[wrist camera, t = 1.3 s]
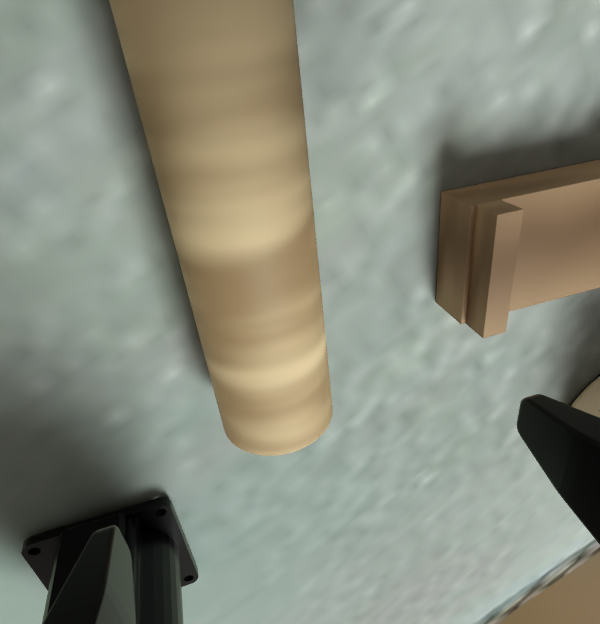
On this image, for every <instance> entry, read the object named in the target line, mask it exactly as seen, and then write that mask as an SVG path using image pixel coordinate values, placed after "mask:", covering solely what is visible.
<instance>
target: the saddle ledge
mask: <svg viewBox="0 0 600 624" xmlns="http://www.w3.org/2000/svg"><path fill="white" fill-rule="evenodd" d="M596 288H600V159H599V160H594V161H589V162H584V163H579V164H575V165H570V166H565V167H560V168H555V169H550V170H545V171H540V172H535V173H531V174H526V175H521V176H516V177H511V178H506V179H501V180H496V181H491V182H487V183H482V184H477V185H472V186H467V187H462V188H457V189H452V190H447V191H443V192H441V207H440V227H439V247H438V266H437V286H436V303H437V304H439V305H440V306H441V307H442V308H443V309H444V310H445V311H447V312H448V313H449V314H450V315H451V316H452V317H453V318H455V319H456V320H457V321H458V322H459V323H460V324H464V323H466V324H467V325H468V326H469V327H471V328H472V329H473V330H474V331H475V332H476V333H478V334H479V335H480V336H481V337H482V338H486V337H489V336H493V335H497V334H500V333H504V332H506V326H507V319H508V313H509V311H513V310H516V309H520V308H524V307H528V306H532V305H535V304H539V303H543V302H547V301H550V300H554V299H558V298H562V297H566V296H569V295H573V294H577V293H581V292H584V291H588V290H592V289H596Z"/></svg>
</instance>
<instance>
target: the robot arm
mask: <svg viewBox="0 0 600 624" xmlns="http://www.w3.org/2000/svg"><path fill="white" fill-rule="evenodd" d="M517 429H518V432H519V434H520V436H521V437H522V439H523V440H524V442H525V443H526V445H527V446H528V448H529V449H530V451H531V452H532V454H533V456H534V457H535V459H536V460H537V462H538V463H539V465H540V466H541V468H542V469H543V471H544V472H545V474H546V475H547V477H548V478H549V480H550V481H551V483H552V484H553V486H554V487H555V488H556V490H557V491H558V493H559V494H560V495H561V497H562V498H563V499H564V501H565V502H566V503H567V504H568V506H569V507H570V508H571V509H572V511H573V512H574V513H575V514H576V516H577V517H578V518H579V519H580V520H581V522H582V523H583V524H584V525H585V527H586V528H587V529H588V530H589V532H590V533H591V534H592V535H593V537H594V538H595V539H596V540H597V542H598V543H599V544H600V418H599V417H597V416H594V415H592V414H589V413H587V412H584V411H582V410H579V409H577V408H574V407H572V406H569V405H567V404H564V403H562V402H559V401H557V400H554V399H552V398H549V397H547V396H544V395H540V394H537V395H533V396H530V397H526V398H524V399H523V400H522V401H521V403H520V409H519V414H518V420H517ZM21 553H22V555H23V557H24V558H25V560H26V561H27V562H28V564H29V565H30V566H31V568H32V569H33V571H34V572H35V573H36V575H37V576H38V577H39V579H40V580H41V582H42V583H43V584H44V586H45V587H46V589H47V590H48V595H47V600H46V605H45V611H44V616H43V621H42V624H183V609H182V592H181V587H182V586H185V585H188V584H191V583H193V582H195V581H196V580H197V579H198V568H197V566H196V563H195V561H194V558H193V555H192V553H191V550H190V548H189V545H188V543H187V540H186V538H185V535H184V533H183V530H182V528H181V525H180V523H179V520H178V517H177V515H176V512H175V510H174V507H173V505H172V502H171V501H170V500H169V499H167V498H159V499H155V500H152V501H148V502H145V503H142V504H138V505H135V506H132V507H128V508H125V509H122V510H118V511H115V512H112V513H108V514H105V515H102V516H99V517H95V518H92V519H89V520H85V521H82V522H79V523H75V524H72V525H69V526H65V527H62V528H59V529H55V530H52V531H49V532H45V533H42V534H39V535H36V536H32V537H30V538H28V539H26V540H25V542H24V544H23V548H22V552H21Z"/></svg>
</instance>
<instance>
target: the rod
mask: <svg viewBox="0 0 600 624" xmlns="http://www.w3.org/2000/svg"><path fill="white" fill-rule="evenodd" d="M109 2H110V5H111V9H112V13H113V17H114V20H115V24H116V28H117V31H118V35H119V39H120V43H121V46H122V50H123V54H124V58H125V61H126V65H127V69H128V72H129V76H130V80H131V84H132V87H133V91H134V95H135V99H136V102H137V106H138V110H139V113H140V117H141V121H142V125H143V128H144V132H145V136H146V140H147V143H148V147H149V151H150V154H151V158H152V162H153V166H154V169H155V173H156V177H157V181H158V184H159V188H160V192H161V195H162V199H163V203H164V207H165V210H166V214H167V218H168V222H169V225H170V229H171V233H172V236H173V240H174V244H175V248H176V251H177V255H178V259H179V263H180V266H181V270H182V274H183V277H184V281H185V285H186V289H187V292H188V296H189V300H190V304H191V307H192V311H193V315H194V318H195V322H196V326H197V330H198V333H199V337H200V341H201V345H202V348H203V352H204V356H205V359H206V363H207V367H208V371H209V374H210V378H211V382H212V385H213V389H214V393H215V397H216V400H217V404H218V408H219V412H220V415H221V419H222V423H223V426H224V430H225V433H226V435H227V437H228V438H229V439H230V441H231V442H232V443H233V444H234V445H236V446H237V447H239V448H240V449H242V450H244V451H246V452H249V453H253V454H257V455H266V456H273V455H283V454H287V453H291V452H294V451H297V450H300V449H302V448H304V447H306V446H308V445H309V444H311V443H313V442H314V441H315V440H317V439H318V438H319V437H320V436H321V435H322V434H323V433H324V431H325V430H326V429H327V427H328V425H329V423H330V421H331V418H332V398H331V388H330V378H329V367H328V357H327V347H326V336H325V326H324V316H323V305H322V295H321V285H320V274H319V264H318V254H317V243H316V233H315V223H314V212H313V202H312V191H311V181H310V171H309V160H308V150H307V140H306V129H305V119H304V109H303V98H302V88H301V78H300V67H299V57H298V47H297V36H296V26H295V16H294V5H293V0H109Z"/></svg>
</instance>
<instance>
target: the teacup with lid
mask: <svg viewBox="0 0 600 624" xmlns="http://www.w3.org/2000/svg"><path fill="white" fill-rule="evenodd" d="M571 406H572V407H574V408H577V409H579V410H582V411H584V412H587V413H589V414H592V415H594V416H597V417H599V418H600V376H599V377H598V378H597V379H595V380H594V381H593V382H592V383H591V384H590V385H589V386H588V387H587V388H586V389H585V390H584V391H583V392H582V393H581V394H580V395H579V396H578V397H577V399H576V400H575V401H574V402H573V404H572V405H571Z"/></svg>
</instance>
